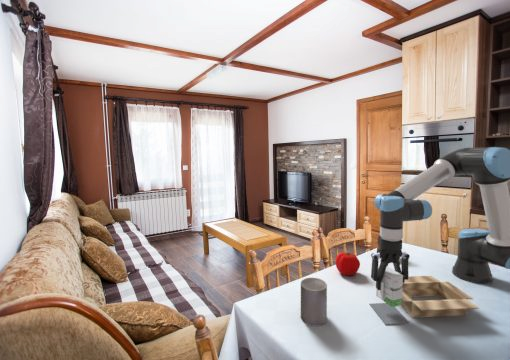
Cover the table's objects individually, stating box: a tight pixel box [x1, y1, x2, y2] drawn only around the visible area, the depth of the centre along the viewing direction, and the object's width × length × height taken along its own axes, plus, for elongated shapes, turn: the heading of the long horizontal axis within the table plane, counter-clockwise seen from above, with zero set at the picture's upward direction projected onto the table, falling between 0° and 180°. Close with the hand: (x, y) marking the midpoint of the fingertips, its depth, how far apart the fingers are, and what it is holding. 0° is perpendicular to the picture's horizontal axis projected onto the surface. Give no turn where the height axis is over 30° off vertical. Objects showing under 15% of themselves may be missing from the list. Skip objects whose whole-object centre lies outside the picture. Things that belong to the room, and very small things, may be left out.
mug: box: [376, 234, 381, 259], centre depth 156 cm, size 9×12×12 cm
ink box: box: [375, 266, 403, 307], centre depth 102 cm, size 9×5×12 cm, turn 15°
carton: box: [400, 275, 480, 318], centre depth 108 cm, size 27×25×6 cm
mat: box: [368, 302, 411, 326], centre depth 104 cm, size 9×13×1 cm
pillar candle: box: [300, 277, 328, 327], centre depth 101 cm, size 10×10×15 cm
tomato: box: [335, 251, 361, 276], centre depth 137 cm, size 12×12×11 cm
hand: (388, 296), depth 103 cm, fingers closed on ink box, 6 cm apart
